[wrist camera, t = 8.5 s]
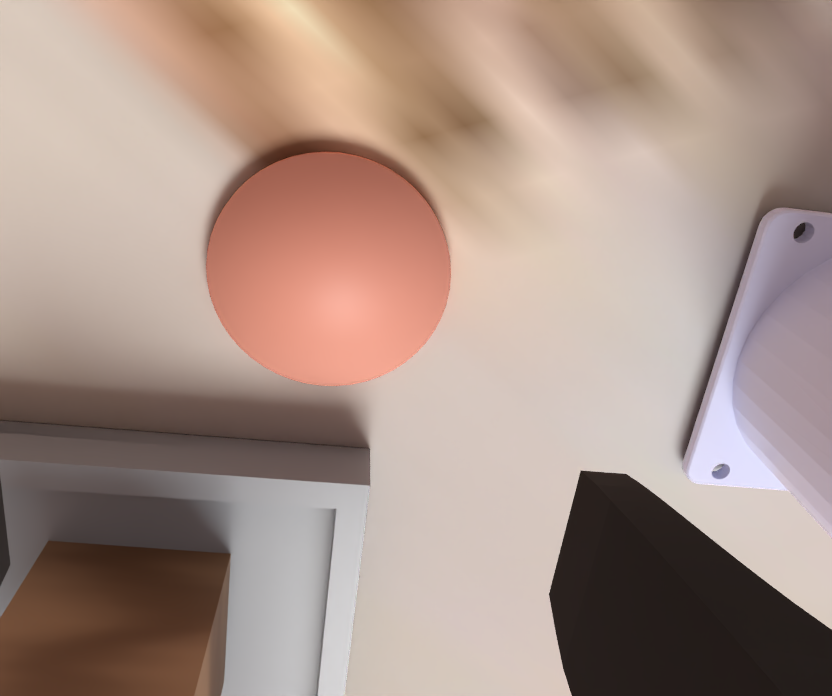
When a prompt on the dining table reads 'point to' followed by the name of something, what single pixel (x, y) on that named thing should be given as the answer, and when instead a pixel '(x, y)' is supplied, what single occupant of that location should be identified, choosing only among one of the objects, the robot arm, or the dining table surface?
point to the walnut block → (117, 623)
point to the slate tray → (209, 531)
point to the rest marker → (328, 268)
